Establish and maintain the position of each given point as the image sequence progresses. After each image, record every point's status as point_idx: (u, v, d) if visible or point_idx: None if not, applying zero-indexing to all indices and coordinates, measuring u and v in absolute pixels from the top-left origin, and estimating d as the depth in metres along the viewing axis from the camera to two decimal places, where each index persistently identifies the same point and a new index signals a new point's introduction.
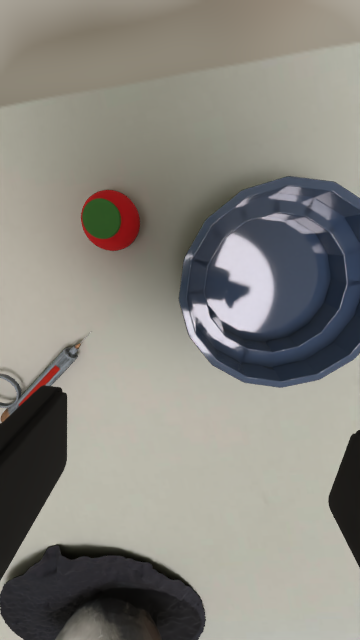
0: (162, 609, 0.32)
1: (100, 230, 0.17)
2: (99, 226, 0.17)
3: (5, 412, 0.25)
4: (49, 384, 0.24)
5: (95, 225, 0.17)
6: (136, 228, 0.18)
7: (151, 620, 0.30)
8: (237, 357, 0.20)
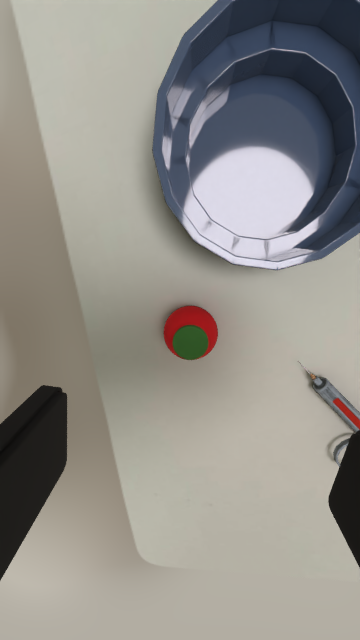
0: None
1: (200, 344, 0.18)
2: (197, 345, 0.18)
3: None
4: (354, 410, 0.22)
5: (196, 348, 0.18)
6: (198, 310, 0.19)
7: None
8: (356, 193, 0.16)
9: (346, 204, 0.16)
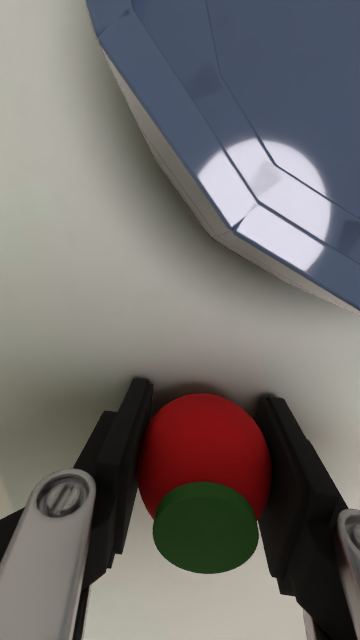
0: None
1: (235, 542, 0.06)
2: (224, 542, 0.06)
3: None
4: None
5: (221, 550, 0.06)
6: (223, 421, 0.07)
7: None
8: None
9: None
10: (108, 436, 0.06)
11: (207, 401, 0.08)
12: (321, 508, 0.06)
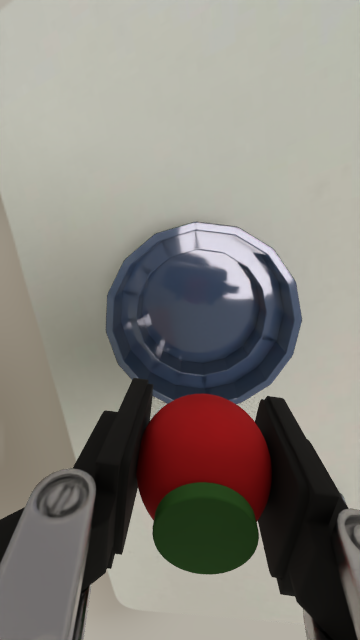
0: None
1: (235, 542, 0.06)
2: (224, 543, 0.06)
3: None
4: None
5: (221, 551, 0.06)
6: (223, 421, 0.07)
7: None
8: (270, 345, 0.21)
9: (263, 352, 0.21)
10: (108, 436, 0.06)
11: (207, 401, 0.08)
12: (321, 508, 0.06)
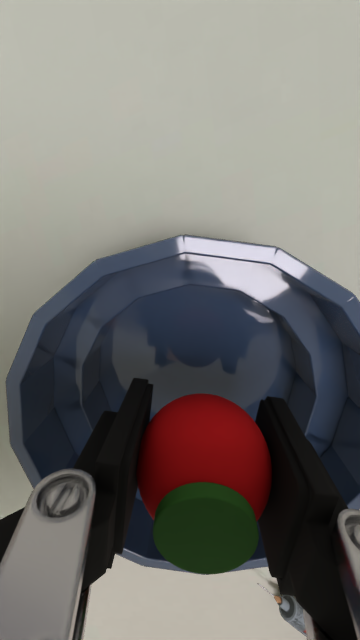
0: None
1: (235, 542, 0.06)
2: (225, 543, 0.06)
3: None
4: None
5: (221, 551, 0.06)
6: (223, 421, 0.07)
7: None
8: (319, 450, 0.12)
9: None
10: (108, 436, 0.06)
11: (207, 401, 0.08)
12: (321, 508, 0.06)
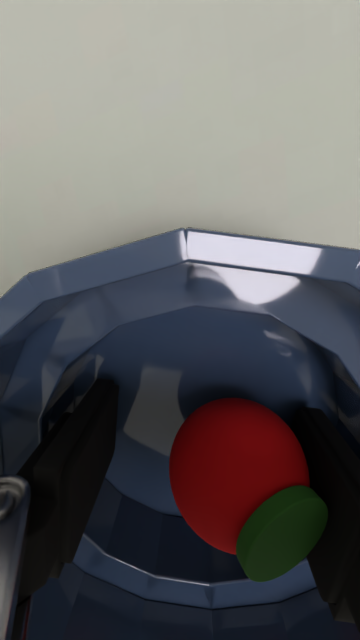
0: None
1: (311, 532, 0.06)
2: (303, 537, 0.06)
3: None
4: None
5: (300, 546, 0.06)
6: (267, 422, 0.07)
7: None
8: None
9: None
10: (54, 440, 0.06)
11: (240, 407, 0.08)
12: None
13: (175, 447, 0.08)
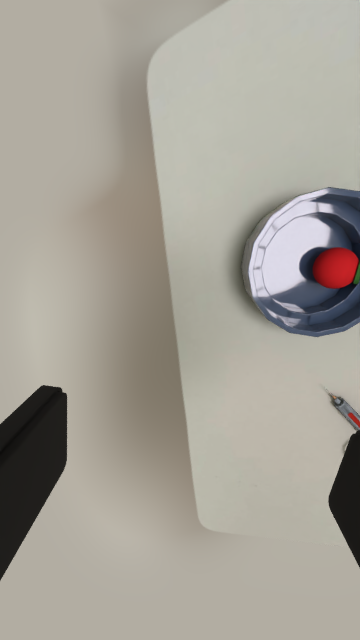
0: None
1: None
2: None
3: None
4: None
5: None
6: (347, 249, 0.26)
7: None
8: None
9: (359, 295, 0.27)
10: None
11: (339, 247, 0.26)
12: None
13: (329, 260, 0.25)
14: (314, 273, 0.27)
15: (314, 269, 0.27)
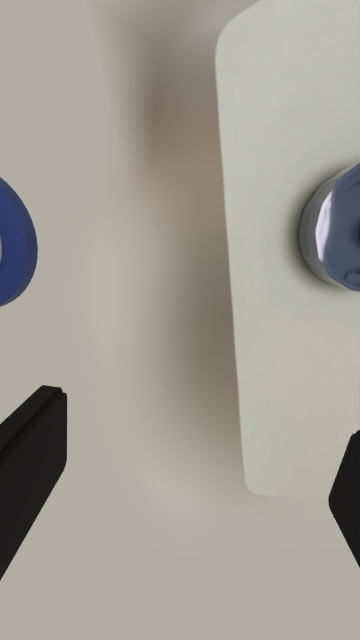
0: None
1: None
2: None
3: None
4: None
5: None
6: None
7: None
8: None
9: None
10: None
11: None
12: None
13: None
14: None
15: None
